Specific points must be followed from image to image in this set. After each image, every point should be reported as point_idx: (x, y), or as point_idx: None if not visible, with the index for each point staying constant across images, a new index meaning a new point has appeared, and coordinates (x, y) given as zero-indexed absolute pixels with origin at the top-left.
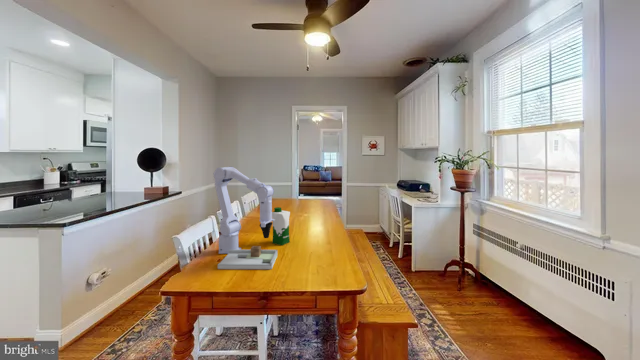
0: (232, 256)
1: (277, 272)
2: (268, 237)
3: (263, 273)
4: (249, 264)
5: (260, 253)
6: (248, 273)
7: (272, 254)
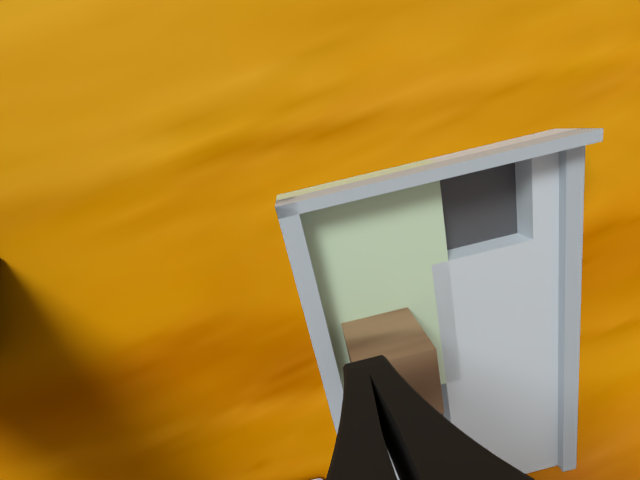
0: None
1: (610, 57)
2: (358, 361)
3: (622, 160)
4: (580, 299)
5: (359, 325)
6: (617, 259)
7: (330, 227)
